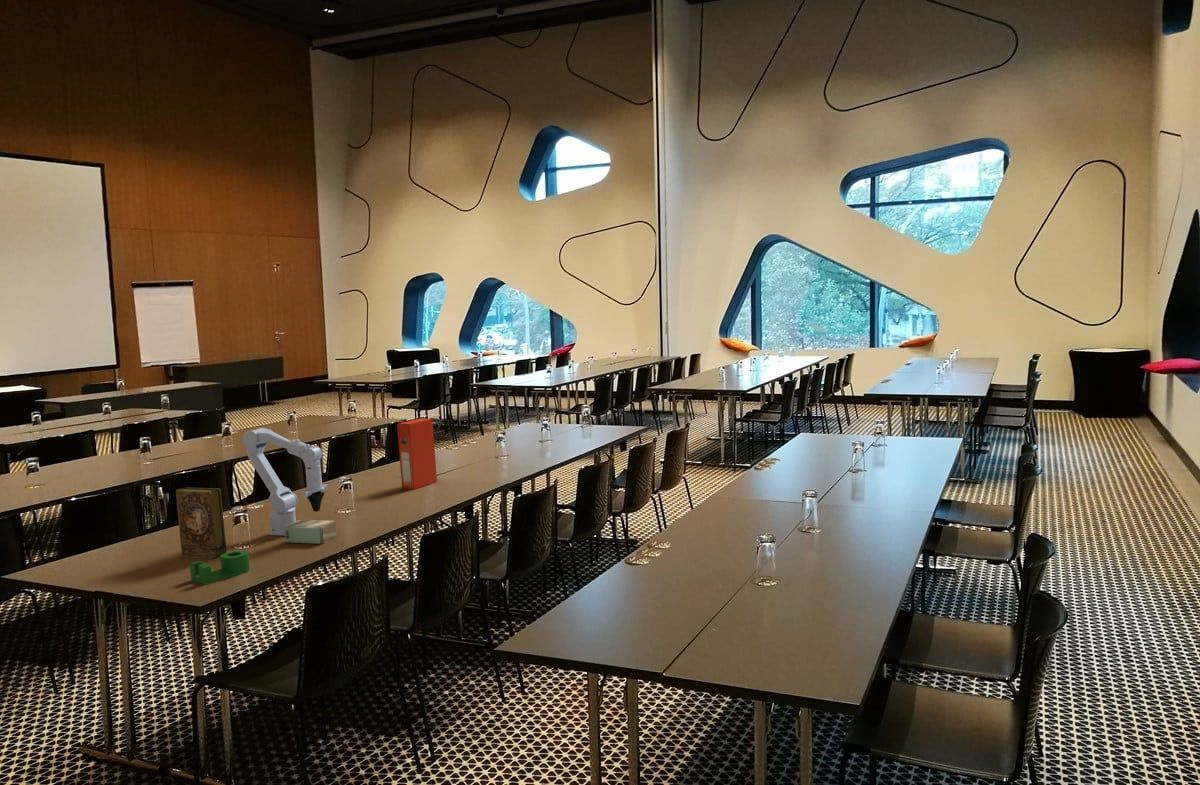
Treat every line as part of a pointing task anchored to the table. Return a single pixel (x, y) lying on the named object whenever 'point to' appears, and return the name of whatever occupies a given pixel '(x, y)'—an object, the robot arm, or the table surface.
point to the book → (201, 522)
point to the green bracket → (230, 567)
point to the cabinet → (327, 527)
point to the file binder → (417, 453)
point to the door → (303, 534)
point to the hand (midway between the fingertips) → (316, 511)
